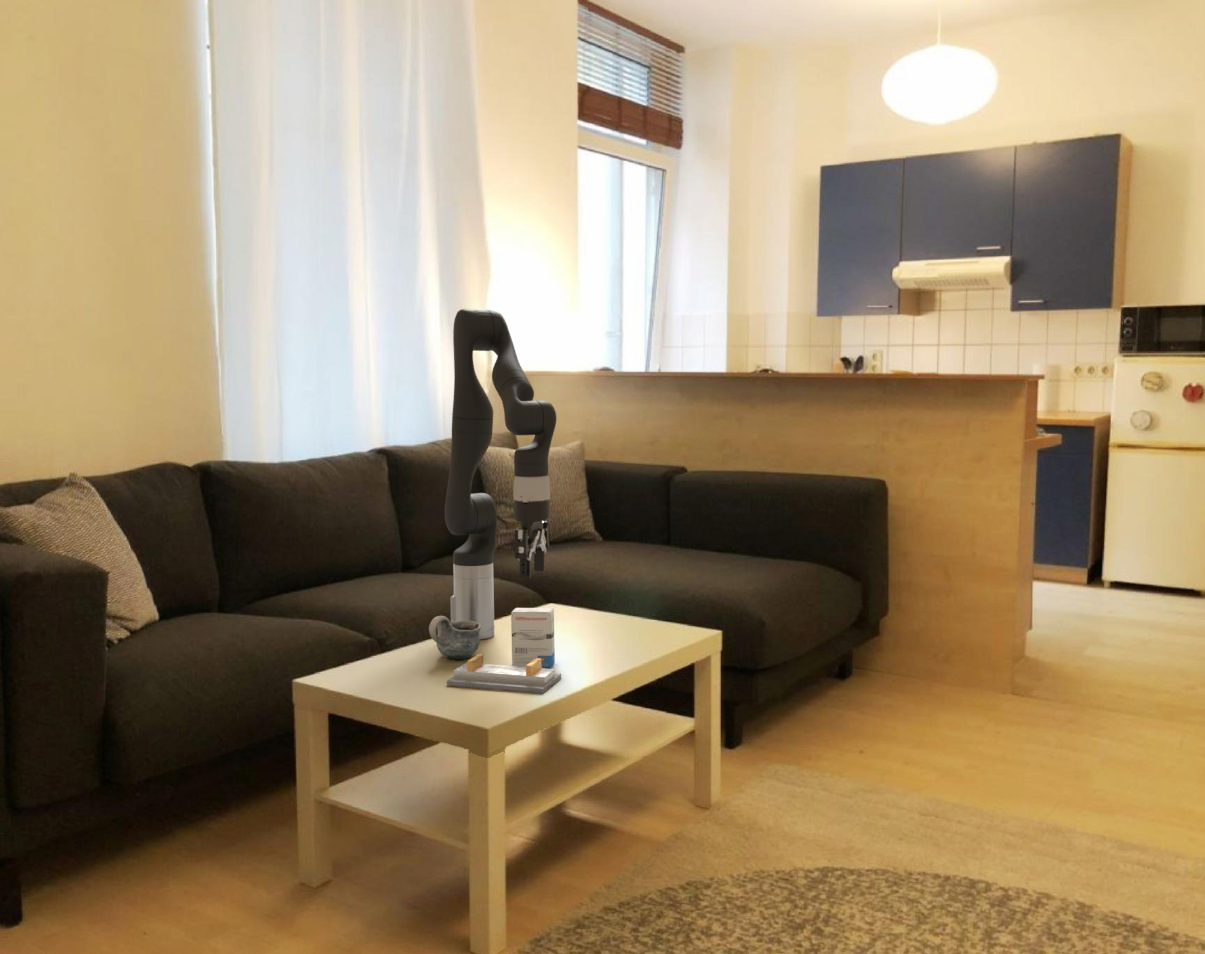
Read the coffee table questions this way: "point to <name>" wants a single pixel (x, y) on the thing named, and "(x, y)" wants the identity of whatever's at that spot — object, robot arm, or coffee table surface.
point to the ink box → (532, 636)
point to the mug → (455, 637)
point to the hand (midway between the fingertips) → (532, 574)
